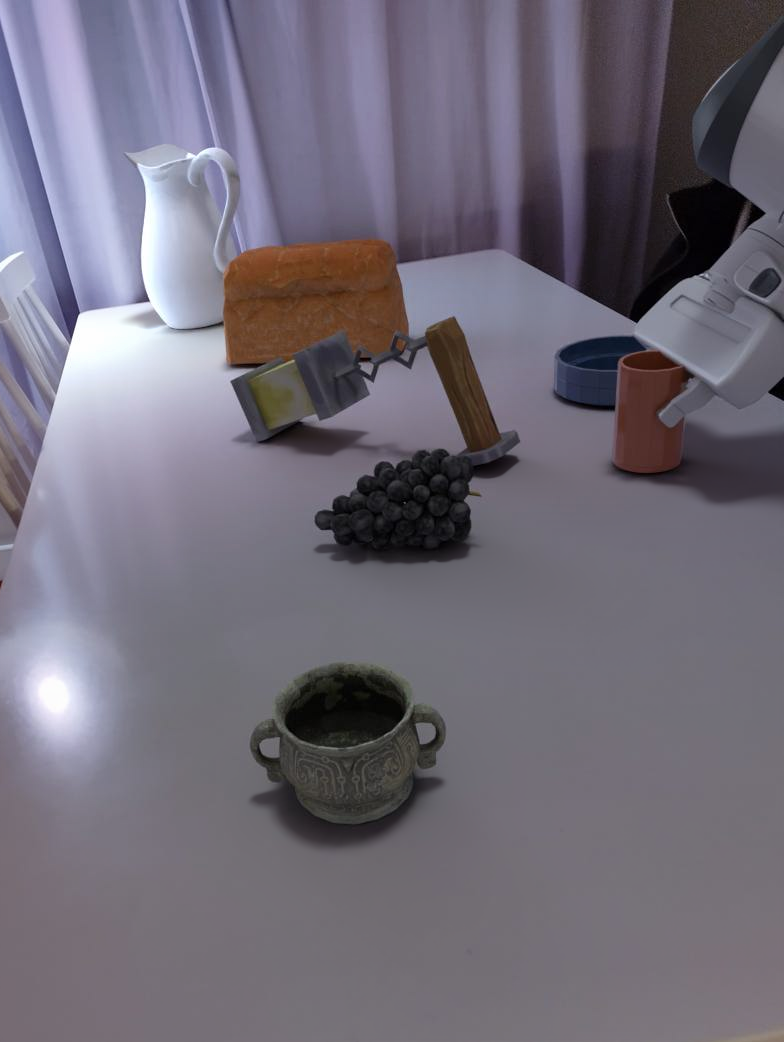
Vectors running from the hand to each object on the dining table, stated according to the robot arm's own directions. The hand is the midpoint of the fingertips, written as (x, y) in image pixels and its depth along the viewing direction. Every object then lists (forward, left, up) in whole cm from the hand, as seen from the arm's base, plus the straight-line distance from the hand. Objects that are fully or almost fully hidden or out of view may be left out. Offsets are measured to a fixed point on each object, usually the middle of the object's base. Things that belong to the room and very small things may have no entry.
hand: (644, 408), depth 91 cm
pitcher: (+54, -78, -6) cm, 95 cm away
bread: (+34, -53, -6) cm, 63 cm away
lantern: (+26, -12, -6) cm, 30 cm away
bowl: (-3, -23, -6) cm, 24 cm away
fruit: (+24, +12, -6) cm, 28 cm away
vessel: (+28, +45, -6) cm, 54 cm away
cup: (-1, 0, -5) cm, 5 cm away
